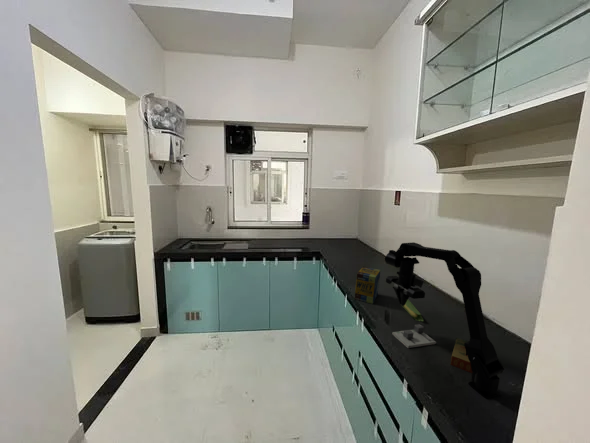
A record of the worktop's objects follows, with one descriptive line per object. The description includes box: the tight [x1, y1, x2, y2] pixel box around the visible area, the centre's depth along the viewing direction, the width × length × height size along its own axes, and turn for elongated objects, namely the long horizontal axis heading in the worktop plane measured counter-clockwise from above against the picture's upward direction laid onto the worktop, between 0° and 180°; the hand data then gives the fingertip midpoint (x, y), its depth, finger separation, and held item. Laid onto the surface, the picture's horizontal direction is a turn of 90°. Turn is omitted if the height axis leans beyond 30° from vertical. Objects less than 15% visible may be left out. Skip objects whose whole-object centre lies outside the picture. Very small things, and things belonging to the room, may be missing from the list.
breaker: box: [412, 323, 425, 333], centre depth 119 cm, size 3×3×2 cm
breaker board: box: [392, 329, 437, 349], centre depth 115 cm, size 10×14×1 cm
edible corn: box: [400, 299, 424, 323], centre depth 139 cm, size 5×20×5 cm
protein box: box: [354, 266, 381, 305], centre depth 155 cm, size 10×15×16 cm
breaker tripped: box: [403, 329, 414, 339], centre depth 114 cm, size 3×3×2 cm
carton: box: [449, 337, 472, 374], centre depth 104 cm, size 8×16×4 cm, turn 143°
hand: (402, 304), depth 118 cm, fingers closed
